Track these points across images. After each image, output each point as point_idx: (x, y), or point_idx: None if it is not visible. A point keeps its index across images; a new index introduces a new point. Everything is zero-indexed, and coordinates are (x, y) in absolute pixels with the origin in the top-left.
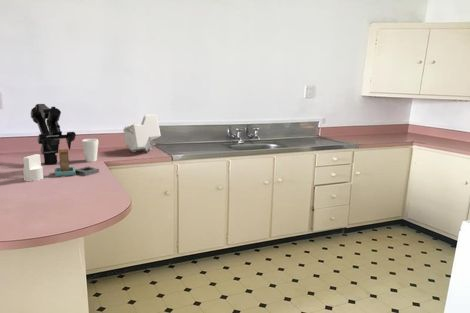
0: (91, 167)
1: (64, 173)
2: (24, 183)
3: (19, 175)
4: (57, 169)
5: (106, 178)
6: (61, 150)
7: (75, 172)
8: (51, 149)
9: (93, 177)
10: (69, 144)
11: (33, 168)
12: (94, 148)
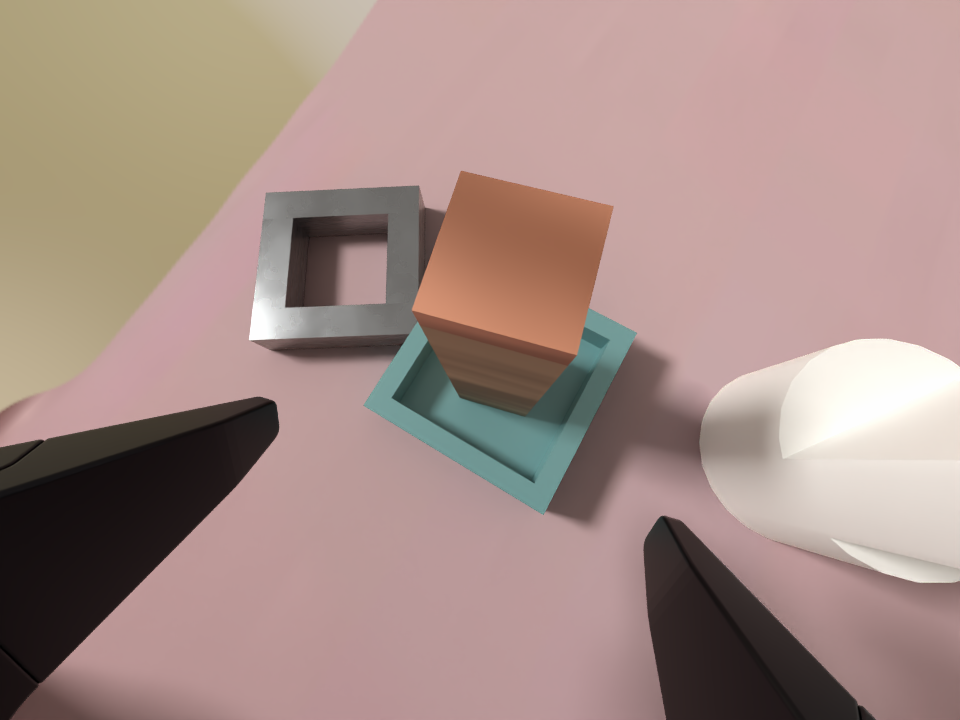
0: (265, 283)
1: None
2: None
3: None
4: (525, 478)
5: (375, 53)
6: (597, 208)
7: None
8: (692, 535)
9: (414, 130)
10: (168, 428)
11: (910, 396)
12: None
